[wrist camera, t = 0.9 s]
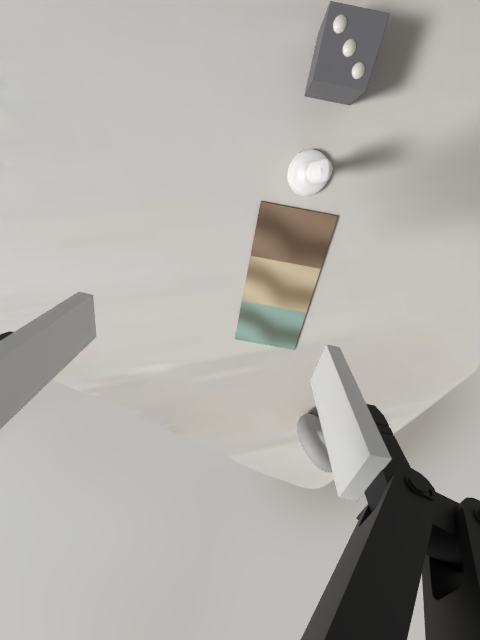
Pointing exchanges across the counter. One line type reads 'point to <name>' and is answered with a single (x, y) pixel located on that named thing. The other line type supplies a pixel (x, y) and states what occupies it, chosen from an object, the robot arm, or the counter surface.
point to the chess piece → (309, 172)
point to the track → (282, 273)
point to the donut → (313, 441)
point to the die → (345, 52)
